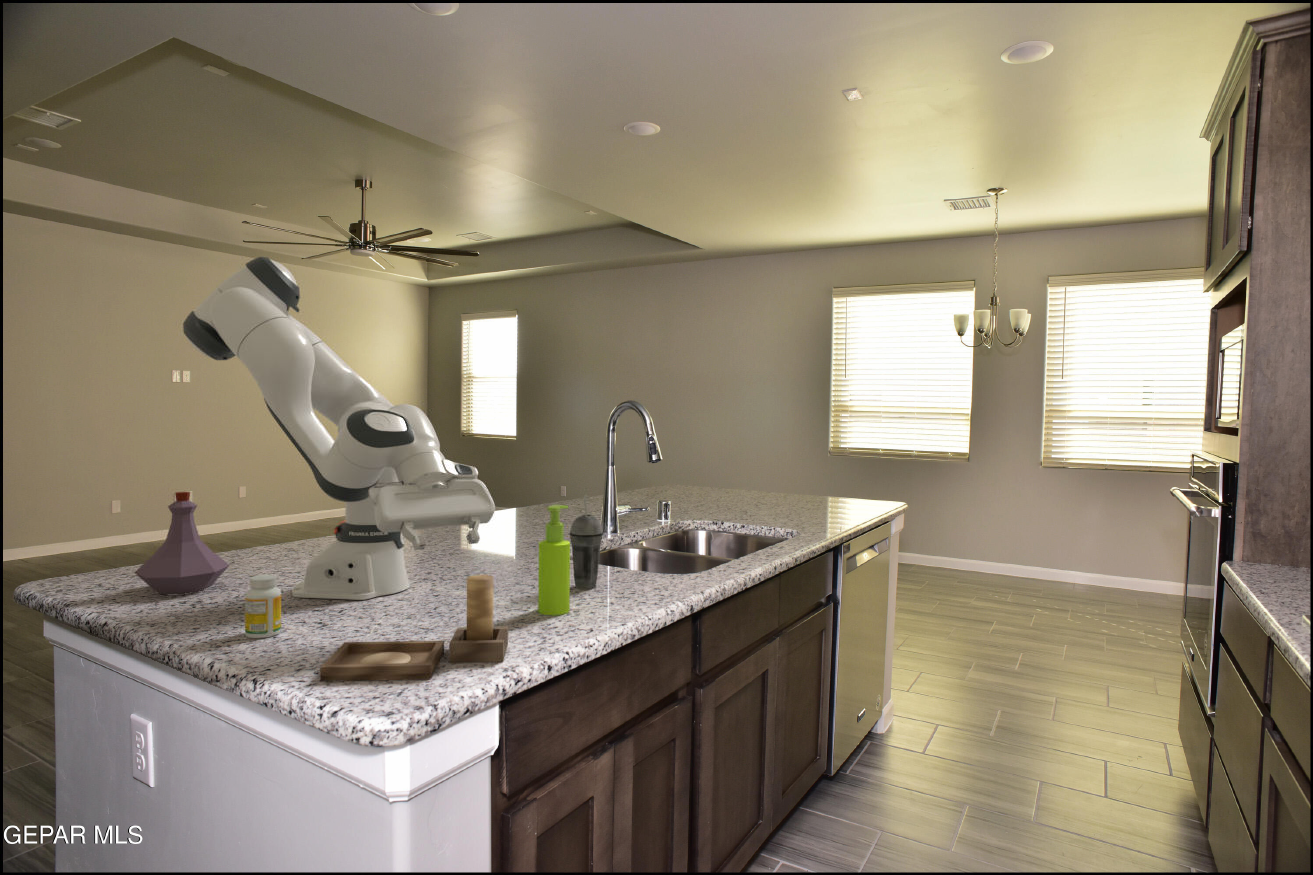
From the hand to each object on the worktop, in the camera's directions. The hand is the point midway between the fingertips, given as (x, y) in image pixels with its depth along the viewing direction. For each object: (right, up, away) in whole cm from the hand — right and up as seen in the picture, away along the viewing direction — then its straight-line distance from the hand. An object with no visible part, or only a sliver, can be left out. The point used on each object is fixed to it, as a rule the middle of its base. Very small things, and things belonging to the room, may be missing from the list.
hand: (448, 544), depth 124 cm
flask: (-62, -13, +28) cm, 69 cm away
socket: (+7, -16, -8) cm, 19 cm away
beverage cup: (+20, -14, +36) cm, 43 cm away
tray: (-5, -16, -14) cm, 22 cm away
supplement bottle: (-31, -15, 0) cm, 35 cm away
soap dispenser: (+15, -15, +17) cm, 28 cm away
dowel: (+7, -16, -8) cm, 19 cm away
